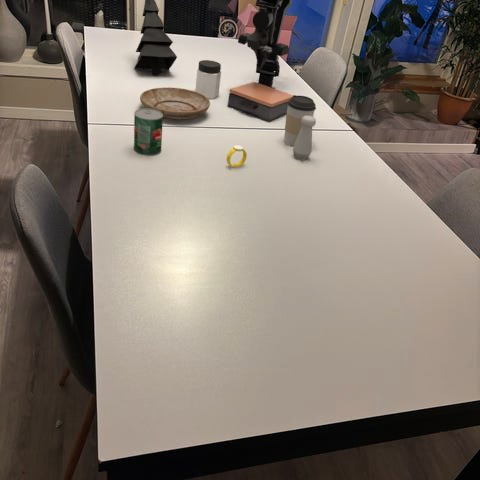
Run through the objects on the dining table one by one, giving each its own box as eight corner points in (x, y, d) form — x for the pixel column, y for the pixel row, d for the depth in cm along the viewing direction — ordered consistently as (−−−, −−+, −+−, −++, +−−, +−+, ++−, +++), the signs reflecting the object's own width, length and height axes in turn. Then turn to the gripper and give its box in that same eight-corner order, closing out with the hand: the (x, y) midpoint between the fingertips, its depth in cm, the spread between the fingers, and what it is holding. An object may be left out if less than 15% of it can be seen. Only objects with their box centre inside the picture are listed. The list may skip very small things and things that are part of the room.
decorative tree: (170, 79, 211) (161, -5, 210) (178, 67, 197) (170, -23, 196) (134, 78, 205) (126, -8, 205) (141, 66, 192) (132, -26, 191)
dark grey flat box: (251, 97, 195) (253, 85, 192) (291, 112, 188) (293, 99, 185) (224, 107, 183) (226, 94, 180) (266, 123, 175) (268, 109, 172)
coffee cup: (310, 141, 167) (320, 97, 159) (304, 151, 160) (314, 105, 151) (284, 134, 169) (292, 90, 160) (277, 144, 162) (285, 98, 153)
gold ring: (240, 163, 147) (244, 144, 144) (246, 167, 146) (250, 148, 143) (223, 165, 144) (227, 145, 141) (229, 169, 142) (232, 149, 139)
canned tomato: (163, 156, 144) (165, 119, 138) (135, 156, 141) (136, 119, 135) (158, 144, 150) (160, 108, 144) (132, 144, 148) (132, 108, 141)
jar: (222, 98, 191) (226, 66, 184) (205, 100, 186) (208, 67, 179) (208, 90, 196) (211, 58, 189) (191, 92, 191) (193, 60, 184)
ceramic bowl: (171, 95, 186) (172, 82, 183) (222, 115, 176) (223, 101, 173) (125, 109, 169) (125, 94, 166) (178, 131, 160) (179, 116, 157)
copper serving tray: (253, 84, 192) (254, 81, 192) (293, 98, 185) (294, 95, 184) (229, 92, 181) (229, 88, 180) (271, 107, 173) (271, 104, 173)
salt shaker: (290, 152, 158) (298, 112, 150) (307, 153, 159) (316, 114, 151) (293, 160, 153) (301, 119, 146) (311, 162, 154) (320, 121, 147)
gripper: (231, 20, 175) (226, 65, 184) (277, 33, 167) (269, 80, 177) (249, 16, 183) (243, 59, 192) (293, 29, 175) (285, 73, 184)
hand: (259, 68), depth 186 cm, fingers closed
